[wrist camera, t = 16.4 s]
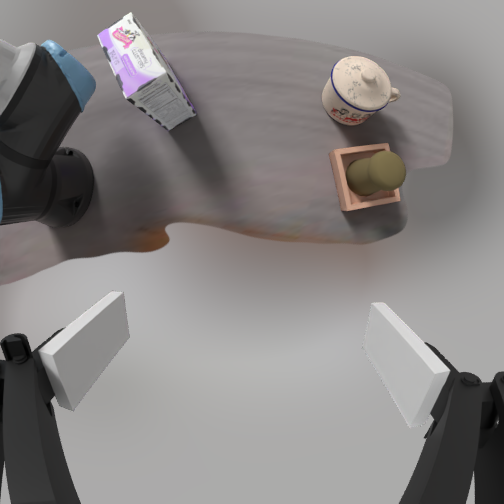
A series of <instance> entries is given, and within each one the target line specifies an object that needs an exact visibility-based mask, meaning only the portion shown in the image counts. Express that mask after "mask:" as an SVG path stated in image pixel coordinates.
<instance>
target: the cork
mask: <svg viewBox="0 0 504 504" xmlns="http://www.w3.org/2000/svg"><path fill="white" fill-rule="evenodd" d="M345 176H346V181H347V185H348V187H349V188H350V190H351V191H352V192H354V193H355V194H357V195H359V196H369V195H372V194H374V193H376V192H378V191H380V190H383V191H392V190H396V189H397V188H399V187H400V186H401V185H402V184H403V182H404V180H405V176H406V169H405V165H404V163H403V161H402V159H401V158H400V157H399V156H398V155H397V154H395V153H393V152H390V151H380V152H378V153H376V154H375V155H373V156H372V157H371V158H362V159H357V160H354V161H353V162H351V163H350V164H349V166H348V167H347V170H346V173H345Z"/></svg>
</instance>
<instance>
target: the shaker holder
mask: <svg viewBox="0 0 504 504" xmlns="http://www.w3.org/2000/svg"><path fill="white" fill-rule="evenodd" d="M380 151H390V148H389V144H388V143H382V144H373V145H365V146H357V147H349V148H342V149H335V150H333V151H332V152H330V153H329V157H330V161H331V166H332V170H333V174H334V179H335V183H336V188H337V193H338V197H339V202H340V207H341V211H350V210H355V209H361V208H366V207H371V206H376V205H382V204H387V203H392V202H398V201H401V200H400V194H399V189H398V188H397V189H396V190H392V191H383V190H380V191H378V192H376V193H374V194H372V195H369V196H359V195H357V194H355V193H354V192H352V191H351V190H350V188H349V187H348V185H347V181H346V176H345V173H346V170H347V167H348V166H349V164H350V163H351V162H353V161H354V160H357V159H362V158H371V157H372V156H373V155H375V154H376V153H378V152H380Z"/></svg>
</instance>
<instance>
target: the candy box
mask: <svg viewBox="0 0 504 504" xmlns="http://www.w3.org/2000/svg"><path fill="white" fill-rule="evenodd" d="M97 37H98V39H99V41H100V44H101V46H102V48H103V51H104V53H105V55H106V57H107V59H108V62H109V64H110V66H111V68H112V70H113V72H114V75H115V77H116V79H117V81H118V84H119V86H120V88H121V90H122V92H123V94H124V96H125V98H126V99H127V100H128V101H129V102H131V103H132V104H134V105H135V106H136V107H137V108H139V109H140V110H142V111H143V112H144V113H145V114H147V115H148V116H149V117H151V118H152V119H153V120H155V121H156V122H157V123H159V124H160V125H161V126H162V127H164V128H165V129H166V130H168V131H169V130H171V129H172V128H174V127H176V126H178V125H179V124H181V123H183V122H184V121H186V120H188V119H190V118H192V117H193V116H195V115H196V111H195V109H194V107H193V105H192V103H191V102H190V100H189V98H188V96H187V95H186V93H185V91H184V89H183V88H182V86H181V84H180V82H179V81H178V79H177V77H176V76H175V74H174V72H173V71H172V69H171V67H170V65H169V64H168V62H167V60H166V58H165V57H164V55H163V54H162V53H161V51H160V50H159V48H158V47H157V46H156V44H155V43H154V41H153V40H152V39H151V37H150V36H149V35H148V33H147V32H146V30H145V29H144V28H143V26H142V25H141V24H140V23H139V21H138V20H137V19H136V17H135V16H134V15H133V14H132V13H131V12H130V13H129V14H128V15H126V16H125V17H123V18H121V19H119V20H118V21H116V22H115V23H114V24H112V25H111V26H110V27H108V28H106V29H105V30H104V31H102V32H101V33H100V34H98V35H97Z"/></svg>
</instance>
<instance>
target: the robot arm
mask: <svg viewBox="0 0 504 504" xmlns="http://www.w3.org/2000/svg"><path fill="white" fill-rule="evenodd" d="M95 88H96V82H95V80H94V78H93V76H92V75H91V74H90V73H89V72H88V71H87V69H86V68H85V67H84V66H83V65H82V64H81V63H80V62H78V61H77V60H76V59H75V58H74V57H73V56H72V55H71V54H69V53H67V52H66V51H65V50H64V49H63V48H62V47H61V46H60V45H58V44H57V43H55V42H54V41H52V40H47V41H46V42H45V43H43V44H42V45H41V47H40V46H38V45H37V44H35V43H33V42H30V43H28V44H25V45H22V46H20V47H15V46H13V45H11V44H9V43H7V42H5V41H4V40H2V39H0V225H7V224H13V223H20V222H27V221H34V220H36V221H38V222H41V223H43V224H46V225H48V226H51V227H66V226H70V225H72V224H74V223H75V222H77V221H78V220H79V219H80V218H81V217H82V216H83V214H84V213H85V211H86V209H87V207H88V205H89V203H90V200H91V196H92V191H93V173H92V169H91V166H90V163H89V161H88V159H87V158H86V156H85V155H84V154H83V153H82V152H80V151H79V150H76V149H73V148H69V147H59V146H60V144H61V142H62V141H63V139H64V137H65V136H66V134H67V133H68V131H69V129H70V128H71V126H72V125H73V123H74V121H75V120H76V118H77V117H78V115H79V114H80V112H81V113H82V112H83V110H84V107H85V105H86V103H87V102H88V100H89V99H90V97H91V96H92V94H93V93H94V91H95ZM129 337H130V335H129V329H128V323H127V315H126V309H125V299H124V292H118V291H111V292H110V293H108V294H107V295H106V296H104V297H103V298H102V299H101V300H99V301H98V302H97V303H96V304H94V305H93V306H92V307H90V308H89V309H88V310H87V311H85V312H84V313H83V314H82V315H80V316H79V317H78V318H77V319H76V320H74V321H73V322H72V323H71V324H70V325H68V326H67V327H65V328H62V329H61V330H58V331H57V332H55V333H54V334H53V335H52V336H51V337H50V338H48V339H47V340H46V341H44V342H43V343H42V344H41V345H40V346H38V347H37V348H36V349H35V350H34V351H33V352H31V349H30V345H29V342H28V339H27V337H26V336H25V335H24V334H19V333H17V334H11V335H8V336H6V337H5V338H3V339H2V340H1V342H0V345H1V348H2V350H3V353H4V356H5V359H6V360H0V497H1V484H2V475H3V468H4V461H5V468H6V476H7V482H8V489H9V494H10V500H11V504H81V503H80V500H79V498H78V495H77V492H76V490H75V487H74V484H73V481H72V479H71V475H70V473H69V469H68V466H67V463H66V459H65V456H64V452H63V449H62V445H61V441H60V437H59V433H58V428H57V424H56V419H55V414H54V409H53V405H52V403H51V399H52V398H53V397H54V396H55V397H56V399H57V402H58V404H59V406H61V407H64V408H66V409H69V410H72V411H74V410H75V408H76V407H77V406H78V404H79V403H80V401H81V400H82V399H83V397H84V396H85V395H86V393H87V392H88V391H89V389H90V388H91V387H92V385H93V384H94V383H95V381H96V380H97V379H98V377H99V376H100V375H101V373H102V372H103V371H104V369H105V368H106V367H107V366H108V364H109V363H110V362H111V360H112V359H113V358H114V356H115V355H116V354H117V353H118V351H119V350H120V349H121V347H122V346H123V345H124V343H125V342H126V341H127V340H128V339H129ZM362 348H363V350H364V351H365V353H366V355H367V356H368V358H369V360H370V361H371V363H372V365H373V366H374V368H375V370H376V371H377V373H378V374H379V376H380V378H381V380H382V381H383V383H384V385H385V386H386V388H387V390H388V392H389V393H390V395H391V397H392V399H393V400H394V402H395V404H396V405H397V407H398V409H399V411H400V412H401V414H402V416H403V418H404V419H405V421H406V423H407V425H408V427H409V428H413V427H417V426H421V425H424V424H425V423H426V421H427V419H428V417H429V415H430V414H431V415H432V417H433V418H434V421H433V423H432V425H431V426H430V428H429V430H428V432H427V433H426V435H425V437H424V438H427V439H426V442H425V444H424V447H423V450H422V453H421V455H420V458H419V461H418V463H417V465H416V468H415V470H414V473H413V475H412V477H411V480H410V482H409V484H408V486H407V488H406V490H405V492H404V495H403V496H402V498H401V501H400V502H399V504H466V500H467V497H468V493H469V489H470V485H471V480H472V476H473V471H474V479H475V504H504V372H498V373H497V374H496V375H495V377H494V379H493V381H492V382H488V383H487V382H486V383H482V382H481V380H480V378H479V377H477V376H476V375H474V374H472V373H468V372H461V373H459V372H458V371H457V370H456V369H455V368H454V367H453V366H452V364H451V363H450V362H448V360H447V359H445V357H444V356H443V355H442V354H440V352H439V351H438V350H437V349H436V348H435V347H433V346H432V345H430V344H428V343H424V342H423V341H422V340H421V339H420V338H419V337H418V336H417V335H416V334H415V333H414V332H413V331H412V330H411V329H410V328H409V327H408V326H407V325H406V324H405V323H404V322H403V321H402V320H401V319H400V318H399V317H398V316H397V315H396V314H395V313H394V312H393V311H392V310H391V309H390V308H389V307H388V306H387V305H386V304H385V303H372V304H371V308H370V313H369V319H368V323H367V328H366V333H365V337H364V342H363V346H362ZM498 420H499V422H498V424H497V421H498Z"/></svg>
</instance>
